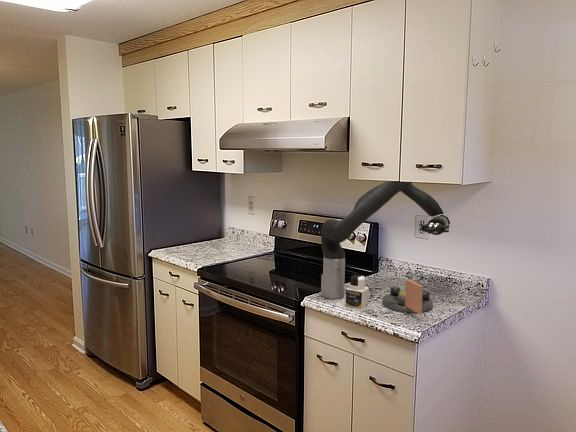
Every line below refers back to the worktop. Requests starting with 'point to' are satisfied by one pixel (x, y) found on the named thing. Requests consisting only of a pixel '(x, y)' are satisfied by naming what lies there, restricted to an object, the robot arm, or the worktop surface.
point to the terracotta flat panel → (412, 296)
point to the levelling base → (392, 303)
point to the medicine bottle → (357, 292)
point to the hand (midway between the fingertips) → (429, 231)
